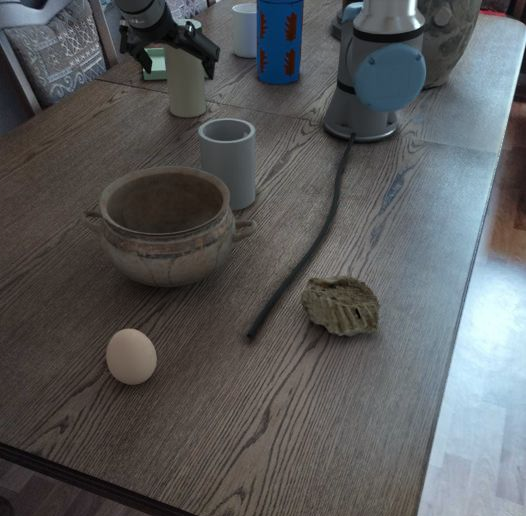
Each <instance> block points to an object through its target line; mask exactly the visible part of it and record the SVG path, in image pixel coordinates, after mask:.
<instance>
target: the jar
mask: <svg viewBox="0 0 526 516" xmlns="http://www.w3.org/2000/svg"><path fill="white" fill-rule="evenodd" d="M174 42H176V41H174ZM162 48H163V51H164V59H165V68H166V77H167V79H166V86H167V93H168V94H167V95H168V103H169V104H168V105H169V110H170V111H169V112H170V113H171V114H172V115H173V116H175V117H180V118H195V117H199V116H201V115H203V114H204V113H205V112H206V111H207V102H206V101H207V99H206V86H205V78H204V69H203V66H202V64H201V63H202V60H200V59H198V58H196V57H194V56H193V55H191V54H189V53H187V52H185V51H184V50H182V49H180V48H179V49H175V48H173V47H171V46H169V45H167V44H162Z"/></svg>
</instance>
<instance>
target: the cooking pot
mask: <svg viewBox="0 0 526 516" xmlns="http://www.w3.org/2000/svg"><path fill="white" fill-rule="evenodd" d="M229 200H230V194H229V190H228V188H227V186H226V185H225V183H224V182H223V181H222V180H221V179H219V178H217V177H216V176H214V175H212V174H210V173H208V172H206V171H202V170H201V169H199V168H195V167H189V166H180V165H161V166H153V167H147V168H146V167H145V168H142V169H138V170H134V171H132V172H129V173H127V174H124V175H122V176H120V177H118V178H116V179H115V180H113V181H112V182H111V183H109V184H108V186H106V187H105V188H104V190H103V191H102V192H101V193H100V195H99V198H98V206H97V207H98V210H99V211H98V210H89V209H88V210H84V211H83V212H81V214H80V216H79V221H80V222H81V224H82V225H84V226H85V227H86V228H88V229H89V230H91V231H92V232H94V233H96V234H97V235H99V236H100V243H101V247H102V250H103V252H104V254H105V256H106V258H107V259H108V261H109V262H110V263H111V265H112V266H113V267H115V268H116V270H117V271H118V272H119V273H121V274H122V275H123V276H125V277H127V278H128V279H130V280H132V281H135V282H137V283H139V284H143V285H146V286H150V287H157V288H176V287H177V288H178V287H182V286H187V285H192V284H194V283H198V282H200V281H202V280H204V279H207V278H209V277H210V276H211V275H213V274H214V273H216V272H217V271H218V270H219V269H220V268H222V266H223V265H224V264H225V263H226V262H227V260H228V259H229V257H230V255H231V254H232V251H233V249H234V246H235V244H236V243H238V242H240V241H242V240H245V239H247V238H249V237H250V236H251V237H252V235H254V234H255V233H256V232H257V230H258V223H257V222H256V221H254V220H252V219H251V220H249V219H245V220H242V219H235V216H234V213H233V211H232V210H231V208H230V206H229ZM90 217H91V218H99V219H101V223H94V222H92V221H90V220H89V219H88V218H90ZM247 227H249V228H248V229H246V230H244V231H242V232H237V231H239V230H240V229H242V228H247Z"/></svg>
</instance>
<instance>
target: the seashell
mask: <svg viewBox="0 0 526 516" xmlns="http://www.w3.org/2000/svg"><path fill="white" fill-rule="evenodd" d="M300 304H301V306H302V307H301V309H302V310H304V312H306V313H307V315H309V319H310V321H311V322H312V323H313V324H315V325H322V326H323V327H325V328H326V329H327V332H328V333H330V334H332V335H336V336H338V337H342V336H344V335H345V336H346V337H353V336H357V335H358V334H377V332H378V330H379V327H380V326H379V325H380V324H379V320H380V318H379V309H380V308H381V304H379V300H378V297H377V295H375V293H374V291H373V290H372V289H371V287H369V285H367V284H366V282H365V280H361V279H358V278H357V277H355V276H349V275H334V276H330V277H317V276H315V277H314V276H313V277H309V279H307V283H306V286H305V288H304V289H303V291H302V293H301V295H300Z"/></svg>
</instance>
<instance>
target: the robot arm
mask: <svg viewBox="0 0 526 516" xmlns="http://www.w3.org/2000/svg"><path fill="white" fill-rule="evenodd" d="M112 1H113V2H114V4H115V5H116V7H117V9H118V10H119V11H120V13H121V16H120V17H119V18H120V19H119V24H118V25H119V26H118V32H119V34H120V36H121V37H120V43H119V51H118V52H119V53H120V55H126V53H127V54H128V55H129V56H130V57H132V58H133V59H134V61H135V62H137V63H139V64H140V66H141V67H142V69H143V68H144V70H145V71H146V73H147V74H151V69H152V63H153V61H152V60H151V58H150V56H149V55H148V53H147V52H146V50H145V49H146V47H147V46H148V45H150V44H152V43H153V44H157V45H159V44H162V45H163V44H167V45H169V46H171V47H173V48H175V49H179V48H180V49H182V50H184V51H185V52H187V53H189V54H191V55H193V56H194V57H196V58H198V59H200V60H202V63H201V64H202V66H203V68H204V70H205V72H206V74H207V76H208V77H207V79H208V80H209V81H214V75H215V69H216V63H219V59H220V55H221V54H220V53H221V47H220V46H218V45H217V44H216V43H214V41H212V40H211V39H210V38H208V37H207V36H206V35H205V34H204V33H203V32H202V33H201V32H200V31H199V30H197V29H196V28H195V26H194V24H193V23H192V22H191V21H186V25H178V24H177V23H176V22H175V21H174V20H173V19H174V18H173V17H174V16H173V14H172V11H171V9H170V6H169V5H168V3H167V0H112ZM417 1H418V0H363V2H357V3H352V4H349V5H348V6H347V7H346V8H345V10H344V16H343V20H342V34H341V40H340V46H339V54H338V63H337V75H336V84H335V90H334V92H333V94H332V97H331V99H330V102H329V104H328V106H327V109H326V111H325V114H324V119H323V127H324V129H325V131H326V132H327V133H328V134H330V135H331V136H333V137H334V138H337V139H339V140H342V141H346V142H348V143H347V145H346V147H345V150H344V153H343V155H342V158H341V160H340V163H339V165H338V167H337V170H336V173H335V177H334V189H333V195H332V201H331V205H330V208H329V212H328V214H327V217H326V220H325V221H324V224H323V226H322V228H321V230H320V232H319V233H318V235H317V237H316V238H315V239H314V241H313V243H312V244H311V246H310V247H309V249H308V250H307V251H306V252H305V254H304V255H303V257H302V258H301V259H300V261H299V262H298V263H297V264H296V265H295V267H294V268H293V269H292V271H291V272H290V273H289V275H287V277H286V278H285V279H284V281H283V282H282V283H281V284H280V286H279V287H278V288H277V289H276V290H275V292H274V293H273V294H272V295H271V297H270V298H269V300H268V301H267V303H266V304H265V306H264V307H263V308H262V310H261V311H260V313H259V315H258V316H257V318H256V319H255V321H254V322H253V324H252V325H251V327H250V329H249V330H248V332H247V333H246V337H247V339H253V338H254V336H255V335H256V333H257V331H258V330H259V329H260V326H261V325H262V323H263V322H264V320H265V318H266V317H267V316H268V314H269V312H270V311H271V310H272V308H273V306H274V305H275V303H276V302H277V301H278V300H279V298H280V297H281V296H282V294H283V293H284V292H285V290H286V289H287V288H288V287H289V285H290V284H291V283H292V281H294V279H295V278H296V276H297V275H298V274H299V273H300V271H301V270H302V269H303V267H304V266H305V265H306V263H307V262H308V261H309V260H310V258H312V256H313V254H314V253H315V251H316V250H317V248H318V247H319V245H320V244H321V242H322V240H323V239H324V237H325V236H326V234H327V231H328V230H329V228H330V226H331V223H332V221H333V218H334V216H335V213H336V210H337V205H338V201H339V195H340V182H341V176H342V173H343V170H344V168H345V165H346V163H347V160H348V157H349V154H350V152H351V149H352V146H353V144H354V143H362V144H363V143H365V144H366V143H368V144H369V143H378V142H382V141H386V140H388V139H390V138H391V137H393V136H394V134H395V133H396V131H397V126H398V116H397V115H398V114H397V111H399V110H401V109H403V108H405V107H407V106H408V105H409V104H410V103H411V102H412V101H414V100H415V99H416V98H417V97H418V95H419V93H421V91H422V90H423V89H422V87H423V85H424V82H425V78H426V66H425V64H426V63H425V60H424V57H423V55H422V54H421V50H422V41H423V32H424V24H425V18H424V16H423V15H422V14H421V13H420V11H419V10H418V8H417ZM132 32H133V33H134V34H135V37H131V40H130V42H128V40H129V36H130V34H131V33H132ZM175 38H176V42H174V40H175Z"/></svg>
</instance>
